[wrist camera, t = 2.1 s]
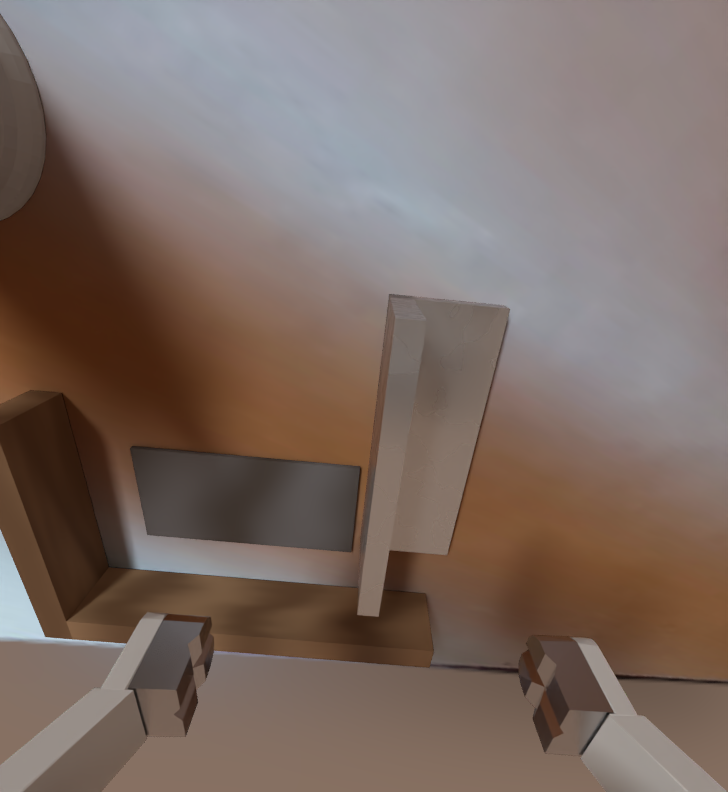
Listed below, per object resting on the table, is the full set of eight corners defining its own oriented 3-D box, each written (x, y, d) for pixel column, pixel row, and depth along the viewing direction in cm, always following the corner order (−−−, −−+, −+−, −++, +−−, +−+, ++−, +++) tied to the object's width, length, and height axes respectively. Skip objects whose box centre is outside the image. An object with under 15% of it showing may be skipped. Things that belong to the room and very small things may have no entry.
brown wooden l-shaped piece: (463, 430, 18) (483, 471, 15) (421, 609, 24) (429, 667, 21) (30, 390, 18) (-44, 424, 15) (90, 581, 24) (45, 637, 20)
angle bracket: (388, 293, 16) (395, 317, 11) (502, 304, 16) (553, 333, 11) (360, 534, 22) (357, 615, 17) (443, 541, 22) (462, 623, 17)
